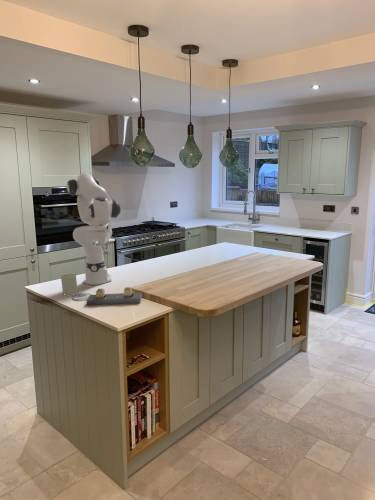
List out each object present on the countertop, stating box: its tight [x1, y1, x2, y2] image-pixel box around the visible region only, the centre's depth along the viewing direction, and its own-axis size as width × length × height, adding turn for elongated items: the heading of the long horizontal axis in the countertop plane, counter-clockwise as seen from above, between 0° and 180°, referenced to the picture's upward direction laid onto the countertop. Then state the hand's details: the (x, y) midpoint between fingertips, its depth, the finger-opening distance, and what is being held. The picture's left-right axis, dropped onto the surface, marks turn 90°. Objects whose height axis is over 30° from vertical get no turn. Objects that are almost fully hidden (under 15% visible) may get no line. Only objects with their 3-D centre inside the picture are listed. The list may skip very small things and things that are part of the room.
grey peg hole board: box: [86, 292, 143, 306], centre depth 222 cm, size 10×30×3 cm, turn 91°
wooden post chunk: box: [123, 286, 133, 297], centre depth 221 cm, size 4×4×8 cm
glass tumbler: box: [60, 273, 79, 296], centre depth 239 cm, size 9×9×12 cm
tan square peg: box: [95, 288, 106, 299], centre depth 221 cm, size 4×4×8 cm
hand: (105, 249), depth 226 cm, fingers open, 8 cm apart
